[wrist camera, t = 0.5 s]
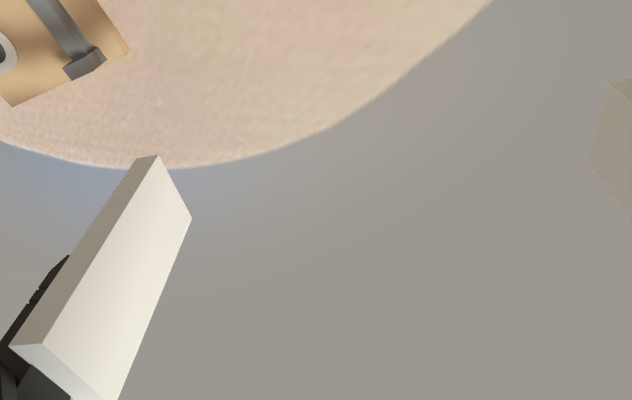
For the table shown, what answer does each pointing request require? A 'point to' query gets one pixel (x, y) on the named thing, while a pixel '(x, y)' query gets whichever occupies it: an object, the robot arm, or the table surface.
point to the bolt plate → (52, 44)
